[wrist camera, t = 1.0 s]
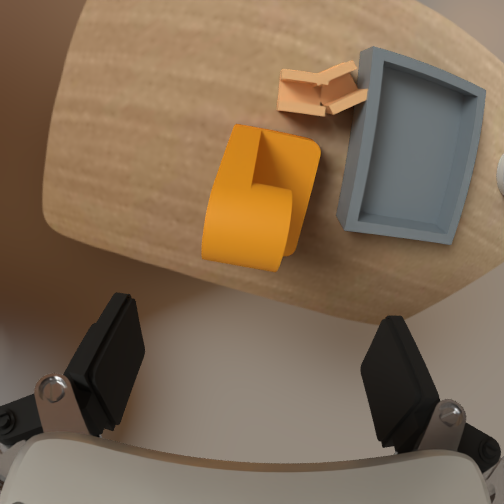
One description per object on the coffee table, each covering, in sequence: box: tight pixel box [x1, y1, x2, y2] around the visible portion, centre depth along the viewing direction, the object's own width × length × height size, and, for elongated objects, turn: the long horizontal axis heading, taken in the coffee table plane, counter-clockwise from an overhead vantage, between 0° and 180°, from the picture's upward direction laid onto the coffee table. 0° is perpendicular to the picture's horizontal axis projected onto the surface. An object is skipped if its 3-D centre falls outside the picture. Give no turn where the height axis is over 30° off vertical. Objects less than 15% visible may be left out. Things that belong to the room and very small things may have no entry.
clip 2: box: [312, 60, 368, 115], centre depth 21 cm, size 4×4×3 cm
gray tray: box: [336, 46, 486, 245], centre depth 23 cm, size 12×16×4 cm
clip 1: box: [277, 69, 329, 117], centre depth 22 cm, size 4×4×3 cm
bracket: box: [202, 124, 321, 272], centre depth 22 cm, size 11×7×12 cm, turn 169°
